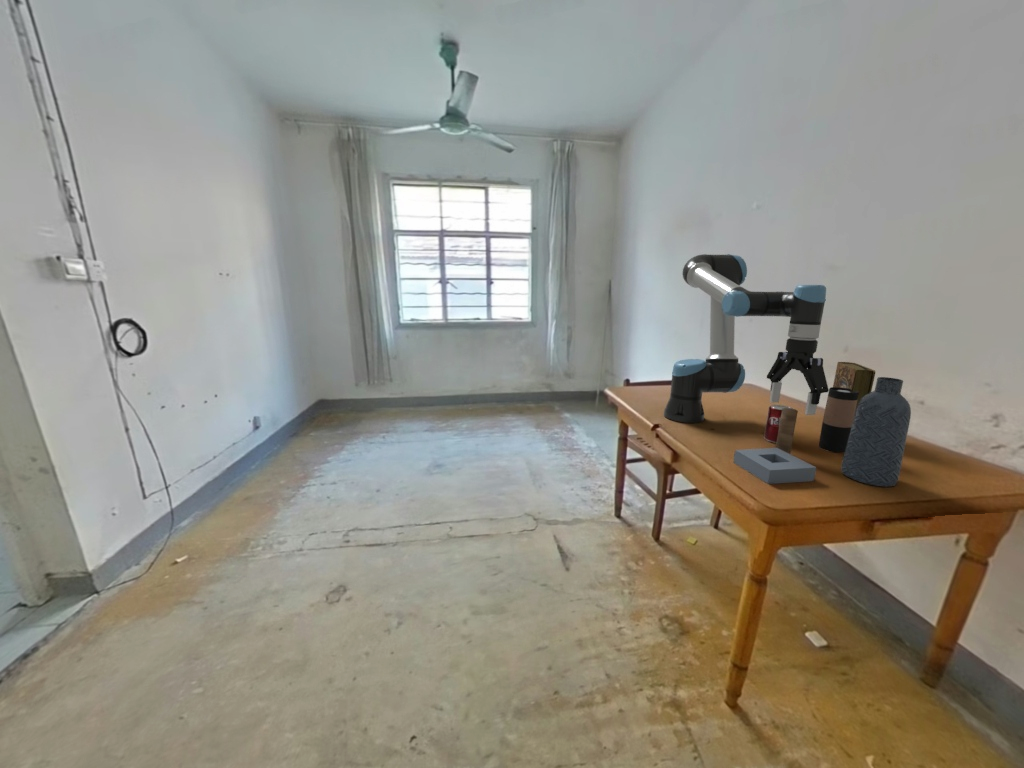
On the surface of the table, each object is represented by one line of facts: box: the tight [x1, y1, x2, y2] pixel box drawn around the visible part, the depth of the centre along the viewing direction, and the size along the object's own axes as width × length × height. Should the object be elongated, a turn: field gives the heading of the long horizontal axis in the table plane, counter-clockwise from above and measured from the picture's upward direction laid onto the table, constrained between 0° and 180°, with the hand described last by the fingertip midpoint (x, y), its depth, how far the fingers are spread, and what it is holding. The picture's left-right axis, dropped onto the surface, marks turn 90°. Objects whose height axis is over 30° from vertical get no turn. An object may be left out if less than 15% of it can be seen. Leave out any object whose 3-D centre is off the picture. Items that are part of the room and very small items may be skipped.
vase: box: [840, 376, 912, 488], centre depth 112 cm, size 12×12×28 cm
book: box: [832, 361, 876, 412], centre depth 147 cm, size 16×6×25 cm, turn 161°
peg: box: [775, 407, 799, 455], centre depth 128 cm, size 4×4×15 cm
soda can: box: [763, 404, 794, 444], centre depth 141 cm, size 7×7×12 cm
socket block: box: [733, 447, 817, 485], centre depth 118 cm, size 14×14×4 cm
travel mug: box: [818, 386, 859, 454], centre depth 133 cm, size 8×8×20 cm
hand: (791, 408), depth 126 cm, fingers open, 13 cm apart
